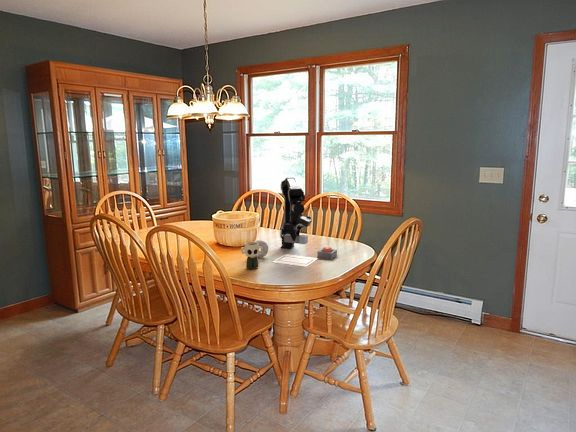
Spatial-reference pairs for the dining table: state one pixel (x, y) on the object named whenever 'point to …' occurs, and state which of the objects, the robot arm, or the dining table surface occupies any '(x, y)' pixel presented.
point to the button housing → (326, 254)
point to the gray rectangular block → (299, 239)
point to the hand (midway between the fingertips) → (295, 240)
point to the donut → (265, 248)
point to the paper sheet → (295, 260)
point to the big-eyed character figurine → (252, 254)
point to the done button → (327, 249)
